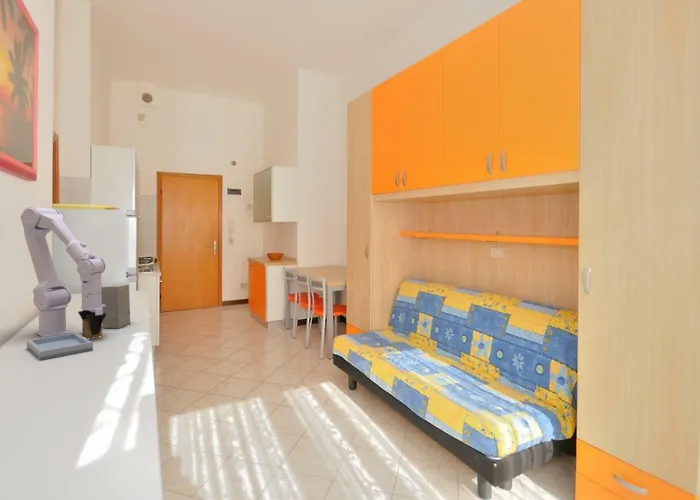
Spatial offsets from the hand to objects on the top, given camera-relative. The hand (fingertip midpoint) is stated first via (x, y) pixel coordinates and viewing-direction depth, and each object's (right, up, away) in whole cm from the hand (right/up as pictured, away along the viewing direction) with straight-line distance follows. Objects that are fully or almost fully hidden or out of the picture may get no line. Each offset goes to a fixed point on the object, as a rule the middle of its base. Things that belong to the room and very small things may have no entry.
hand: (92, 332), depth 138 cm
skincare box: (0, -1, +15) cm, 15 cm away
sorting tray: (-1, -2, -14) cm, 15 cm away
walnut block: (0, -2, 0) cm, 2 cm away
